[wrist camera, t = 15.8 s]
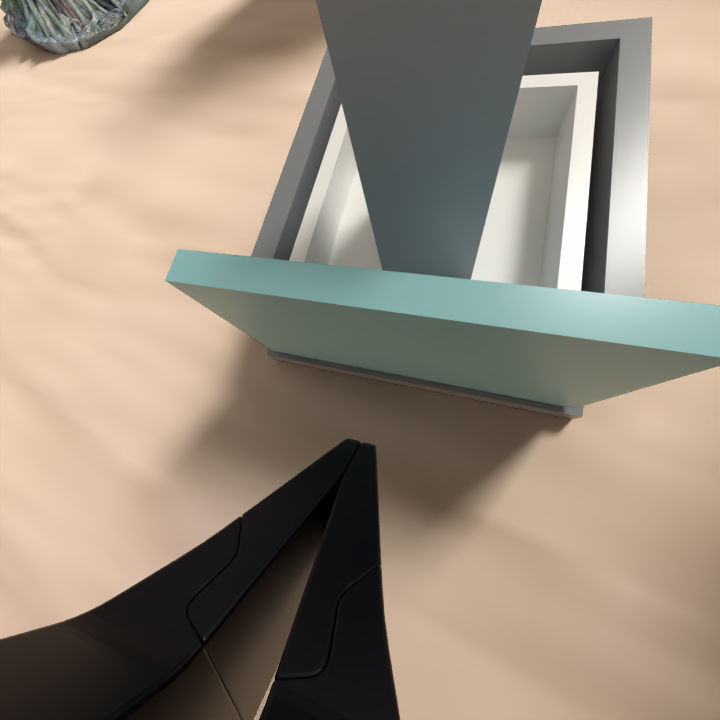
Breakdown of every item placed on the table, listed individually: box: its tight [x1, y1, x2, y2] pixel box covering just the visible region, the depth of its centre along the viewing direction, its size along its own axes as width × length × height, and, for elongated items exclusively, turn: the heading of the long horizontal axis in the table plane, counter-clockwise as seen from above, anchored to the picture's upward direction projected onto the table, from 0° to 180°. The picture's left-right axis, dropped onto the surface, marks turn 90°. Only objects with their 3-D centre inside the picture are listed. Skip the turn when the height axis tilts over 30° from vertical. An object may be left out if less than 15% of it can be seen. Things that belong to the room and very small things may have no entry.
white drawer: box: [165, 71, 720, 408], centre depth 14 cm, size 15×15×8 cm
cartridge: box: [316, 0, 542, 280], centre depth 11 cm, size 4×6×12 cm
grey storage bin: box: [251, 17, 652, 419], centre depth 16 cm, size 18×16×5 cm
